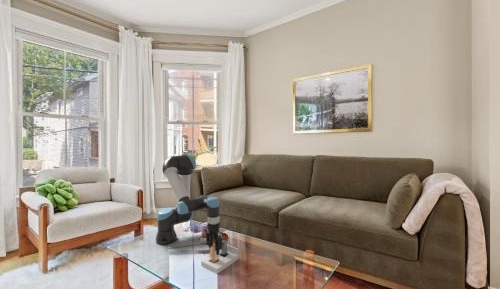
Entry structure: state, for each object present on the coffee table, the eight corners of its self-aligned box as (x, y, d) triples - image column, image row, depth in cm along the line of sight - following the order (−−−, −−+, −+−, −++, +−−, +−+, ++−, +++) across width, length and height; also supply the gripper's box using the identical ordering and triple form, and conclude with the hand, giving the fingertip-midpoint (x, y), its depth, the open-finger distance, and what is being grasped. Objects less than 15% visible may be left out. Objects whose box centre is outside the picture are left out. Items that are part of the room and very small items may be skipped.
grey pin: (219, 258, 173) (219, 241, 172) (223, 256, 176) (223, 239, 175) (224, 260, 171) (224, 243, 169) (228, 258, 174) (228, 240, 173)
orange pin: (209, 264, 166) (209, 246, 165) (214, 262, 169) (214, 244, 168) (214, 267, 164) (214, 248, 162) (219, 264, 167) (218, 246, 165)
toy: (225, 251, 182) (225, 240, 181) (211, 250, 184) (211, 239, 183) (230, 243, 194) (230, 232, 193) (217, 241, 196) (216, 231, 195)
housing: (201, 265, 166) (201, 255, 165) (223, 252, 182) (223, 242, 181) (217, 273, 157) (217, 262, 156) (238, 258, 173) (238, 248, 172)
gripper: (199, 220, 165) (200, 256, 168) (219, 227, 155) (219, 265, 158) (208, 217, 171) (209, 251, 174) (227, 223, 161) (228, 259, 164)
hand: (214, 257), depth 166 cm, fingers closed on orange pin, 4 cm apart
